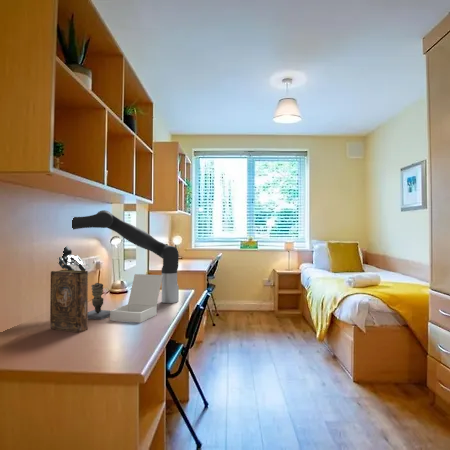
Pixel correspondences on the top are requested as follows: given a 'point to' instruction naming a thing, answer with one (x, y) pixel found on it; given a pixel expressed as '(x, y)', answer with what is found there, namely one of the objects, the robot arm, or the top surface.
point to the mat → (98, 314)
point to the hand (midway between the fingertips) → (79, 271)
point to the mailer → (140, 300)
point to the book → (69, 300)
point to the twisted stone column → (97, 296)
